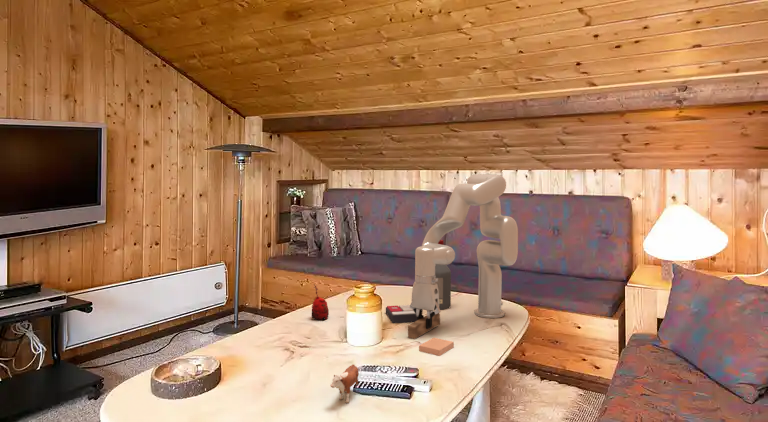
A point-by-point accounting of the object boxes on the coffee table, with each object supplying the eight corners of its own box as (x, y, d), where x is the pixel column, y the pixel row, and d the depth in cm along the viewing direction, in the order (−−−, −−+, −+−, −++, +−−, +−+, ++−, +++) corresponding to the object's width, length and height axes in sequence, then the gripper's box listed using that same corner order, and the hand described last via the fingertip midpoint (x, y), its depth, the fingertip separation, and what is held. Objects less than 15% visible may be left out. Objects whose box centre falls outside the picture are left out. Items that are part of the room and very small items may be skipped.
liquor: (437, 303, 236) (438, 238, 233) (453, 307, 229) (454, 240, 227) (424, 306, 230) (424, 240, 227) (439, 311, 223) (440, 242, 220)
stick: (433, 322, 203) (433, 311, 203) (439, 324, 201) (439, 313, 201) (408, 337, 189) (407, 325, 188) (414, 338, 187) (414, 327, 186)
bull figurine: (327, 406, 134) (327, 376, 134) (349, 386, 147) (349, 358, 146) (343, 409, 133) (342, 379, 132) (363, 388, 145) (363, 360, 145)
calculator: (410, 304, 222) (419, 311, 208) (410, 313, 222) (419, 322, 208) (385, 305, 220) (392, 313, 206) (385, 315, 220) (392, 324, 206)
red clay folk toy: (331, 319, 211) (331, 283, 210) (316, 322, 207) (315, 285, 206) (323, 315, 217) (322, 280, 216) (308, 317, 213) (307, 282, 212)
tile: (433, 337, 183) (419, 345, 175) (453, 341, 179) (439, 350, 170) (433, 343, 183) (419, 352, 175) (453, 348, 179) (439, 357, 171)
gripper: (449, 280, 192) (448, 328, 193) (412, 275, 201) (412, 320, 203) (438, 284, 186) (438, 333, 187) (401, 278, 195) (401, 325, 197)
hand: (424, 326), depth 195 cm, fingers closed on stick, 3 cm apart
